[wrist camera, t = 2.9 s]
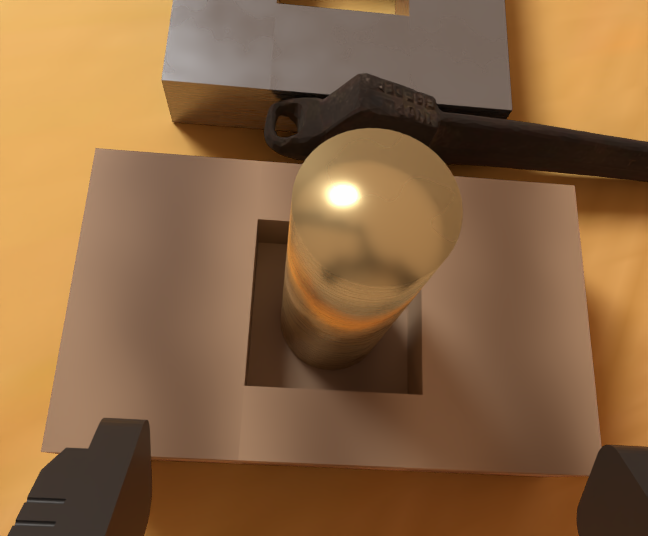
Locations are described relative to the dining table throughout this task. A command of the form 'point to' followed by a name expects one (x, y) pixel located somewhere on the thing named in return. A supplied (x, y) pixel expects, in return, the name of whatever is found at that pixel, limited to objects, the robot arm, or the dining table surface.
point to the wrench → (452, 132)
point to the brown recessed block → (292, 373)
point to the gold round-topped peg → (363, 241)
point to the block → (331, 56)
